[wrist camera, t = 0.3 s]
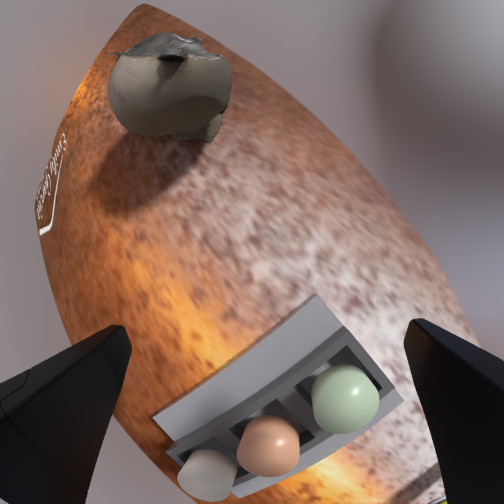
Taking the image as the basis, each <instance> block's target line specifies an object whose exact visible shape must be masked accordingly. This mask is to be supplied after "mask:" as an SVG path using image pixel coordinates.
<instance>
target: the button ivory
mask: <svg viewBox="0 0 504 504" xmlns="http://www.w3.org/2000/svg"><path fill="white" fill-rule="evenodd" d="M236 474H237V467H236V464H235V463H234V461H233V460H232V459H231V458H230V457H228V456H227V455H225V454H223V453H221V452H219V451H216V450H211V449H200V450H197V451H195V452H193V453H192V454H191V455H190V457H189V459H188V460H187V462H186V463H185V465H184V466H183V468H182V469H181V471H180V472H179V474H178V476H177V480H178V483H179V485H180V486H181V488H182V489H183V490H184V491H185V492H187V493H188V494H190V495H191V496H193V497H195V498H197V499H200V500H204V501H221V500H223V499H225V498H227V497H228V495H229V494H230V491H231V488H232V485H233V482H234V480H235V477H236Z"/></svg>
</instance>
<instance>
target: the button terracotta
mask: <svg viewBox="0 0 504 504" xmlns="http://www.w3.org/2000/svg"><path fill="white" fill-rule="evenodd" d="M299 457H300V453H299V431H298V429H297V427H296V425H295V424H294V423H293V422H292V421H290V420H289V419H287V418H284V417H282V416H278V415H264V416H260V417H257V418H255V419H253V420H252V421H251V422H250V423H248V425H247V426H246V428H245V430H244V433H243V436H242V439H241V441H240V444H239V447H238V450H237V459H238V462H239V464H240V465H241V466H242V467H243V468H244V469H245V470H246V471H248V472H250V473H252V474H254V475H257V476H261V477H277V476H281V475H284V474H287V473H288V472H290V471H292V470H293V469H294V468H295V467H296V465H297V464H298V462H299Z"/></svg>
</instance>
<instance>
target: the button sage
mask: <svg viewBox="0 0 504 504" xmlns="http://www.w3.org/2000/svg"><path fill="white" fill-rule="evenodd" d="M311 398H312V405H313V412H314V417H315V420H316V422H317V424H318V425H319V426H320V427H321V428H322V429H324V430H325V431H327V432H330V433H333V434H347V433H351V432H354V431H357V430H359V429H361V428H362V427H364V426H365V425H366V424H368V423H369V422H370V421H371V420H372V418H373V417H374V415H375V414H376V412H377V410H378V406H379V394H378V391H377V389H376V388H375V386H374V385H373V384H372V382H371V381H370V380H369V378H368V377H367V376H366V374H365V373H364V372H363V371H362V370H361V369H360V368H358V367H357V366H354V365H351V364H338V365H334V366H331V367H329V368H327V369H326V370H324V371H323V372H322V373H320V374H319V376H318V377H317V378H316V379H315V381H314V383H313V386H312V389H311Z"/></svg>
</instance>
